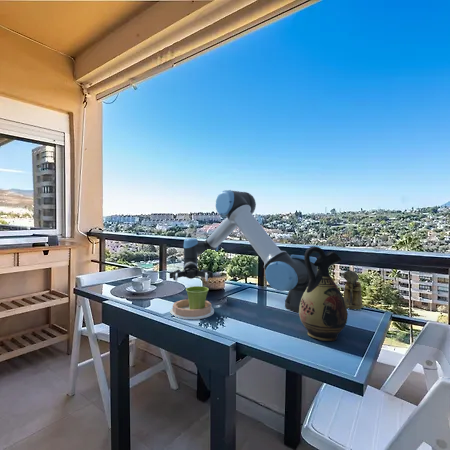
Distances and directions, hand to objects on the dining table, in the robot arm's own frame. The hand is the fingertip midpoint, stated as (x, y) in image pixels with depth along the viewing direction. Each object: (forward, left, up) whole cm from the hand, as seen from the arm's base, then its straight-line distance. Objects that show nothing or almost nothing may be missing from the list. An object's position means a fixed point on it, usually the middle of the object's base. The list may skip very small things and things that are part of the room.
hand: (191, 278), depth 129 cm
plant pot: (-8, +6, -11) cm, 15 cm away
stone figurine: (-61, -36, -12) cm, 72 cm away
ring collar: (-7, +8, -12) cm, 15 cm away
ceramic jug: (-57, +2, -12) cm, 58 cm away
